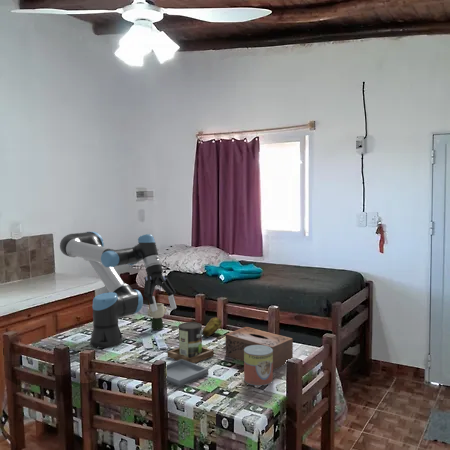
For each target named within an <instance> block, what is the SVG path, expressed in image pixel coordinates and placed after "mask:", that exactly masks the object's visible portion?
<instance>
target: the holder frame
mask: <svg viewBox="0 0 450 450" xmlns="http://www.w3.org/2000/svg"><path fill="white" fill-rule="evenodd" d="M166 355H167V358H169V359H172V360H174V361H178V360H180V359H183V360H186V361H189V362H192V363H194V364H198V363H199V362H202V361H204V360H206V359H209V358H212V357H214V356H215V352H214V349H211V348H208V347H204V346H202V354H199V355H196V356H194V357H191V358H189V357H186V356H183V355H180V354H179V347H176V348H173V349H171V350H168V351H167V354H166Z"/></svg>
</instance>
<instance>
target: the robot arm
mask: <svg viewBox="0 0 450 450" xmlns="http://www.w3.org/2000/svg"><path fill="white" fill-rule="evenodd" d="M137 242H138V244H136V245H134V246H133V247H127V248H121V249H113V248H109V247H105V245H104V244H105V243H104V239H103V237H102V235H100V234H99V233H98V232H96V231H85V232H77V233H69V234H67V235H65V236H63V237H62V239H61V240H60V242H59V250H60V251H61V253H62V254H63V255H65V256H67V257H70V258H77V257H78V258H81V259H83V260H84V261H85V262H86V261H87V262H88V263H89V264H90V265H91V266H92V268H93V270H94V271H95V273H96V274H97V275H98V278H100V280H101V282H102V283H103V285H104V286H105V288H106V289H107V291H108V292H103V293H100V294H99V293H98V294H97V295H95V297H93V299H92V306H91V307H92V321H93V322H92V324H93V329H92V333H91V336H90V340H89V344H90V346H91V347H94V348H99V349H102V348H103V349H104V348H112V347H117V346H119V345H121V344H122V343H123V335H122V333H121V332H122V331H121V329H120V326H119V319H121V318H123V317H128V316H130V315H136V313H137V314H138V313H139V312H140V311H141V310H142V308H143V305H144V302H143V301H144V298H143V296H144V297H145V298H146V299H148V302H149V306H150V305H151V309H152V312H154V311H157V310H158V309H157V305H156V303H157V302H156V298H155V295H154V292H155V289H156V286H157V287H161V288H162V290H163V291H165V293H166V295H168V296H167V298H168V302H169V305H170V310H171V311H173V310H176V309H177V308H178V307H177V304H176V299H175V294H177V291H176V290H175V288H174V286H173V284H172V283H171V282H170V279H169V277H168V275H167V274H166V275H163V272H164V270H163V267H162V264H161V259H160V255H159V252H158V248H157V244H156V243H157V242H156V241H155V238H154V235H152V234H150V233H149V234H148V233H147V234H142V235H140V236H138V239H137ZM142 261H143V265H144V268H145V273H146V276H144V277H143V278H144V287H143V288H144V289H143V295H142V293H141V291H140V290H138V289H133V288H132V287H131V285H129V284H127V283H125V282H124V280H123V279H122V278H121V276H120V275H119V274H118V272H117V270H116V268H114V267H119V266H125V265H128V266H134V265H136V264H138V263H139V262H142Z"/></svg>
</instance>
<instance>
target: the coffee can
mask: <svg viewBox="0 0 450 450" xmlns="http://www.w3.org/2000/svg"><path fill="white" fill-rule="evenodd" d="M177 326H178V348H179V354H180V355H183V356H186V357H189V358H191V357H194V356H196V355H199V354H202V347H203V328H202V326H203V325H202V323H200V322H196V321H195V322H194V321H187V322H183V323H180V324H178V325H177Z"/></svg>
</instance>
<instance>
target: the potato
mask: <svg viewBox="0 0 450 450" xmlns="http://www.w3.org/2000/svg"><path fill="white" fill-rule="evenodd" d="M222 323H223V320H222V319H221V318H220V317H216V316H215V317H212V318H210V320H208V322H207V323H206V325H205V326H204V328H202V337H205V338H207V337H210V336H211V335H213V334H215V333H216V332H217V331H218V330H219V329H221V327H222Z"/></svg>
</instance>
